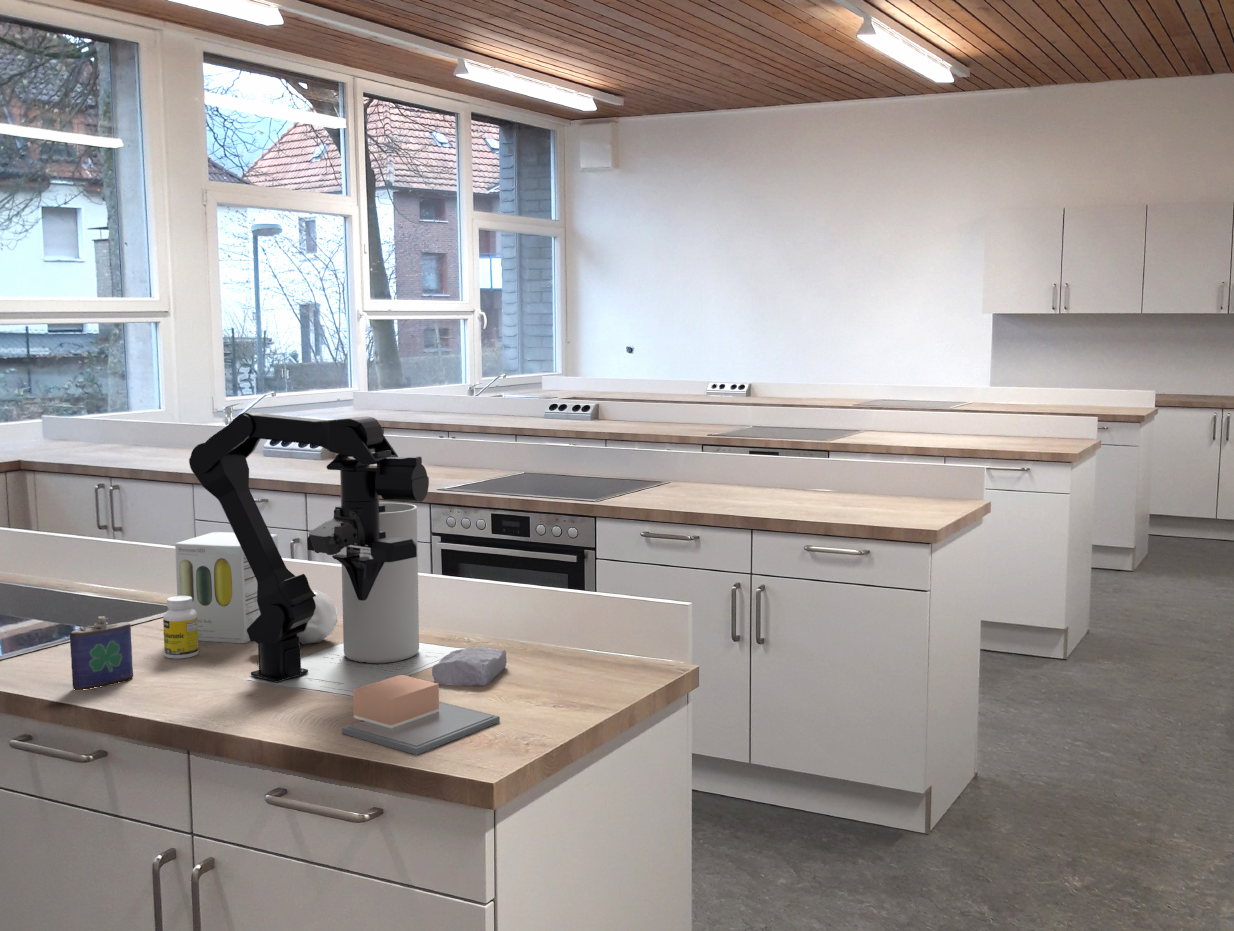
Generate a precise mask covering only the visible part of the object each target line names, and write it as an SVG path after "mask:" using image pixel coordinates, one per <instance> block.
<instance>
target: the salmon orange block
mask: <svg viewBox="0 0 1234 931" xmlns="http://www.w3.org/2000/svg"><path fill="white" fill-rule="evenodd" d="M439 686H440V684H438V683H436V682H435V681H434V682H432V681H429V680H425V679H420V678H417V677H416V678H415V677H413V676H408V675H404V674H399V675H395V676H393V677H389V678H386V679H383V680H381V681H376V682H374V683H370V684H367V685H364V686H360V687H356V688H354V689H352V704H353V719H357V720H360V721H367V722H370V723H374V724H377V725H381V726H384V727H388V728H394V727H397V726H399V725H402V724H405V723H408V722H411V721H414V720H416V719H419V718H422V717H425V716H428V715H431V714H433V713H436V712H439V702H440V694H439V693H440V689H439V688H440V687H439Z"/></svg>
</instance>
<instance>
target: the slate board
mask: <svg viewBox="0 0 1234 931" xmlns="http://www.w3.org/2000/svg"><path fill="white" fill-rule="evenodd" d="M500 719H501V718H500V715H496V714H492V713H487V712H484V711H479V710H475V709H471V708H468V707H467V708H466V707H463V706H459V705H456V704H455V705H454V704H451V703H447V702H442V701H439V712H436V713H433V714H431V715H428V716H425V717H422V718H419V719H416V720H414V721H411V722H408V723H405V724H402V725H399V726H397V727H394V728H388V727H384V726H381V725H377V724H374V723H370V722H367V721H363V720H360V721H358V722H355V723H353V724H349V725H346V726H344V727H342V734H343V735H347V736H350V737H354V738H356V737H357V739H360V740H364V741H367V742H371V743H375V744H378V745H380V746H381V745H382V746H385V747H389V748H392V749H395V750H398V751H402V752H405V753H409V754H413V755H415V756H417V755H420V754H422V753H425V752H427V751H429V750H433V749H435V748H437V747H438V748H439V747H440V746H442V745H445V744H448V743H450V742H453V741H454V740H459V739H460V738H463V737H465V736H468V735H471V734H473V733H476V732H478V731H480V730H483V729H485V728H488V727H490V726H493V725H496V724H498V723H500V721H501V720H500Z"/></svg>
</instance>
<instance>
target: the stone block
mask: <svg viewBox="0 0 1234 931" xmlns="http://www.w3.org/2000/svg"><path fill="white" fill-rule="evenodd" d="M506 666H507V651H506V649H496V648H491V647H490V648H489V647H486V646H484V647H482V646H472V647H467V648H461V649H456V650H454V651H453V650H452V651H450V652H449V653H448V654H446V655H444V656H442V658H440V660H439V662H438V663H436V664H434V665H433V666H432V668H431V673H432V675H431V676H432V677H433V680H434V683H438V684H439V685H447V686H467V687H468V686H470V687H474V686H477V687H486V686H488V685H489V684H490V683H491V682H492V681H493V680H494V679H495V678H496V677H497V676H498V675H500V673H502V672H503V671H504V670H505V668H506Z"/></svg>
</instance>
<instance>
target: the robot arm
mask: <svg viewBox="0 0 1234 931" xmlns="http://www.w3.org/2000/svg"><path fill="white" fill-rule="evenodd" d="M261 440H268V441H277V442H287V443H297V444H306V445H313V446H317V447H321V448H322V449H324V450H325V451H328V452H331V453H335V454H336V456H335V457H334V459H332V461H331V462H329V464H326V469H327V470H328V471H329V470H330V471H339V472H340V473H339V474H340V506H339V505H338V506H335V508H334V510H333V518H332V519H330V520H328V521H325V522H323V523H322V524H320V525H319V526H317V527H315V528H314V529H312V530H310V531H309V532H308V536H307V538H306V541H307V542H306V543H307V551H311V552H314V553H316V554H320V553H321V554H326V555H327V556H331V557H332V559H334V560H335V561H338V562H339V563H340V564H341V565H342V564H343V565H344V566H345V568H346V570H347V572H348V574H349V577H350V579H351V582H352V585H353V587H354V590H355V593H356V595H357V598H358V600H361V601H364V600H366V599H367V598H368V595H369V593H370V591H371V589H372V587H373V584H374V582H375V580H376V578H377V576H378V574H379V572H380V570H381V568H382V566H383V565H384V563H385V562H395V561H400V560H405V559H410V558H414V557H417V549H418V543H417V544H416V543H415V542H414V541H413V540H412V539H408V538H401V537H393V538H388V539H384V538H386V532H384V531H380V512H385V505H379V503H380V497H381V498H382V499H383V500H384V501H391V502H411V503H412V502H414V503H415V502H416V503H422V502H423V501H424V500H425V499H426V497H427V495H428V492H429V487H430V486H429V485H430V483H429V482H430V477H429V476H428V473H427V469H426V467H425V466H424V465H423V462H422V461H423V459H422V456H419V455H418V456H417V455H416V456H415V455H414V456H410V457H409V456H408V457H405V456H404V457H403V456H402V457H401V456H399V455H398V453H397V452H396V451H395V449H394V448H393V447H392V445H391V444H390V442H389V441H388V439H387V438H386V436H385V435H384V430H383V427H382V425H381V424H380V423H379V421H378V420H377V419H376V418H375V417H373V416H358V417H357V416H355V417H347V418H346V417H345V418H337V419H319V418H308V417H300V416H299V417H298V416H290V415H288V416H287V415H280V414H270V413H269V414H268V413H264V412H261V411H253V412H252V411H251V412H243V413H240V414H238V415H237V416H236V417H235V418H234V419H233V420H232V421H231V422H230V423H229V424H228V425H226V426H225V427H223V428H222V429H220V430H218V432H216V433H214V434H213V435H212V436H210V437H209V438H208V439H207V440H206V441H205V442H201V443H199V444H197V445H195V447H194V448H193V449H192V451H191V454H190V457H189V458H188V464H189V468H190V470H191V472H192V473H193V474H194V476H195V478H196V479H197V481H198V482H199V483H200V485H201V486H202V488H204V489H205V491H207V492H208V493H209V494H211V495H212V496H213V497H214V498H216V499H217V501H218V502H219V503H220V505H221V508H222V511H223V512H224V514H225V517H226V518H227V520H228V524H230V527H231V529H232V531H233V533H235V535H236V538H237V540H238V542H239V544H240V546H241V548H242V550H243V552H244V554H245V557H246V559H247V561H248V563H249V565H250V567H251V569H252V571H253V574H254V576H255V578H256V580H257V604H258V607H259V610H260V614H261V615H260V616H259V617H258V618H257V619H256V620H255V621H254V622H253V623H252V624H251V625H250V626H249V627H248V628H247V632H248V635H249V638H250V641H249V642H251V643H256V642H258V644H257V653H258V657H257V658H258V669H257V670H253V671H251V672H250V676H252V677H256V678H260V679H264V680H266V681H271V682H280V681H285V680H287V679H291V678H294V677H298V676H302V675H305V674H308V673H309V670H308V669H307V668H303V667H302V659H301V658H302V657H301V654H302V652H301V650H302V649H301V647H300V642H299V637H297V634H298V633H300V632H304V631H305V630H306V627H307V624H308V621H309V620H310V619H311V618H312V616H313V614H314V611H315V609H316V605H315V601H314V598H313V597H315V596H316V594H315V593H314V592H313V591H312V590H313V589H311V587H310V583H309V581H308V578H307V576H306V575H305V574H304V573H302V574H301V573H300V574H298V575H295V574H294V573H293V572H291V571H290V570H289V569H288V568H287V566H286V564H285V562H284V560H283V558H282V556H281V554H280V551H279V548H278V549H277V547H276V545H275V543H274V541H273V538H272V536H271V534H272V533H271V532H270V530H269V528H268V526H267V524H266V522H265V520H264V518H263V515H262V513H261V512H260V509H259V507H258V505H257V503H256V500H255V499H254V497H253V495H252V493H251V490H250V485H249V484H250V468H249V464H248V461H247V458H248V457H249V456H250V455H251V454H252V453H254V451H255V450H256V449H257V446H258V444H259V442H260V441H261ZM379 539H382V540H379ZM354 543H355V544H354ZM365 545H368V546H365Z"/></svg>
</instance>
